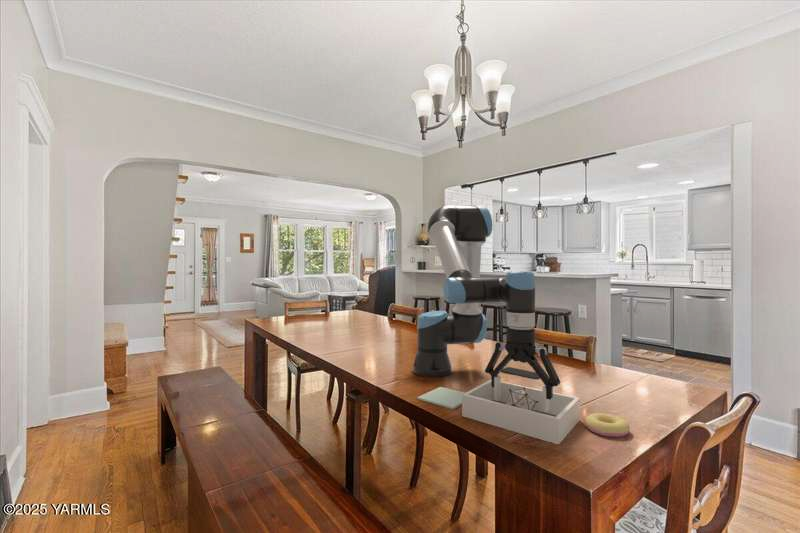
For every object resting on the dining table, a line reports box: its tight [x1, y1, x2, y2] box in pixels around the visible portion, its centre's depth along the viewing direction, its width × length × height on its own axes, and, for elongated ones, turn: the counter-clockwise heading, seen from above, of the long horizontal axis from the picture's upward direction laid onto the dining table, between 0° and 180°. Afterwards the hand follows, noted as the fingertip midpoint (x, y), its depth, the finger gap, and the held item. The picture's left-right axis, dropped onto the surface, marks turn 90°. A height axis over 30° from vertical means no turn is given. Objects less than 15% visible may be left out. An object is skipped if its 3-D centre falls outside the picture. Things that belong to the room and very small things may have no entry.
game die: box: [505, 386, 539, 411], centre depth 104 cm, size 9×8×10 cm
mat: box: [417, 386, 465, 410], centre depth 120 cm, size 13×13×1 cm
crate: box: [461, 379, 581, 445], centre depth 104 cm, size 26×18×6 cm
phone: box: [500, 366, 540, 380], centre depth 146 cm, size 7×1×15 cm
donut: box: [584, 412, 630, 438], centre depth 97 cm, size 10×5×9 cm
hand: (520, 404), depth 104 cm, fingers open, 13 cm apart
